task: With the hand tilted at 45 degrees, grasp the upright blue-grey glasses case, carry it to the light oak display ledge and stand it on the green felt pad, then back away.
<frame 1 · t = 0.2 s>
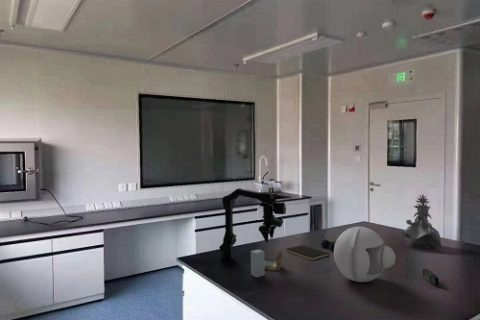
hand: (269, 240, 210), 14 cm above the lab bench, tool pointing down, fingers open, 9 cm apart
mobile phone: (431, 283, 181), on the lab bench
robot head: (363, 281, 183), on the lab bench
hardcover book: (306, 254, 231), on the lab bench
headset: (333, 249, 241), on the lab bench
display ledge: (270, 267, 205), on the lab bench
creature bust: (421, 246, 244), on the lab bench
glasses case: (257, 275, 193), on the lab bench
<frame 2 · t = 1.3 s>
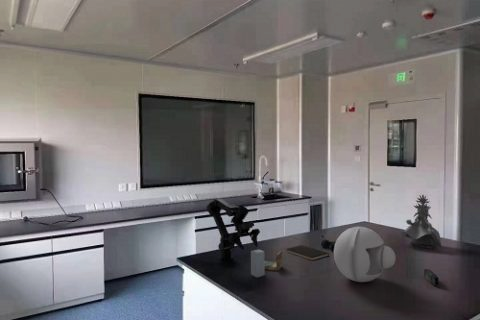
hand: (250, 247, 199), 13 cm above the lab bench, tool tilted 45°, fingers open, 9 cm apart
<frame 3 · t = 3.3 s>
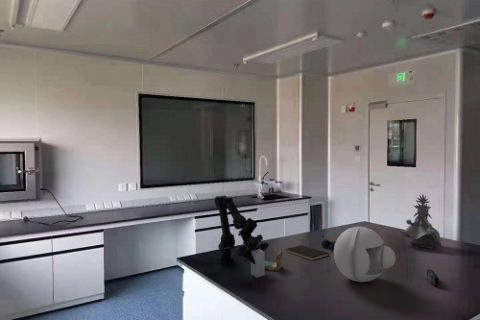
hand: (259, 262, 192), 7 cm above the lab bench, tool tilted 45°, fingers closed on glasses case, 5 cm apart
glasses case: (257, 275, 193), on the lab bench, touching gripper
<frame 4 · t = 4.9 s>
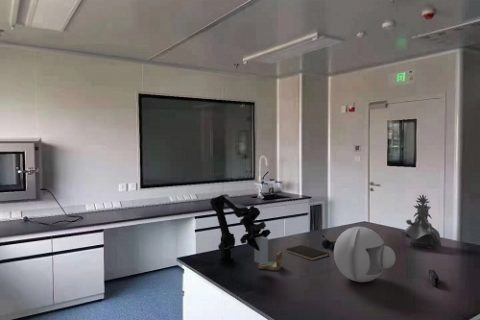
hand: (262, 249, 195), 13 cm above the lab bench, tool tilted 45°, fingers closed on glasses case, 5 cm apart
glasses case: (261, 261, 197), point 6 cm above the lab bench, touching gripper
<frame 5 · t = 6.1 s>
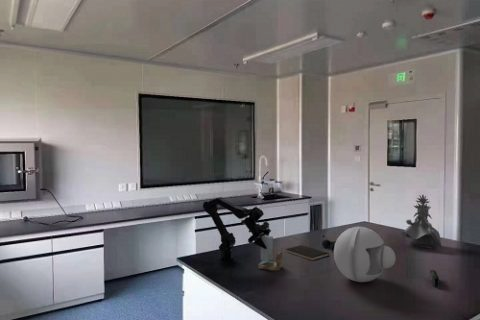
hand: (268, 247, 205), 12 cm above the lab bench, tool tilted 45°, fingers closed on glasses case, 5 cm apart
glasses case: (266, 259, 206), point 4 cm above the lab bench, touching gripper
when the fingers open (10 cm above the lab bench, at t = 6.8 s): glasses case stays where it is, resting on display ledge.
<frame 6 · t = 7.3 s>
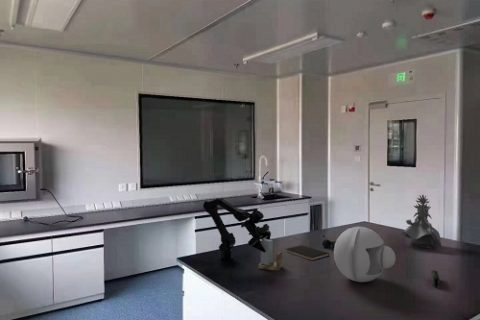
hand: (269, 250, 205), 10 cm above the lab bench, tool tilted 45°, fingers open, 9 cm apart
glasses case: (266, 262, 206), point 2 cm above the lab bench, touching display ledge
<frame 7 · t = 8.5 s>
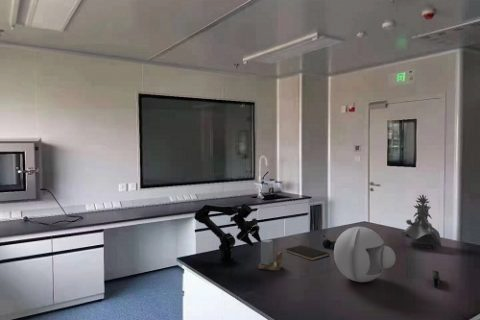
hand: (256, 243, 209), 12 cm above the lab bench, tool tilted 45°, fingers open, 9 cm apart
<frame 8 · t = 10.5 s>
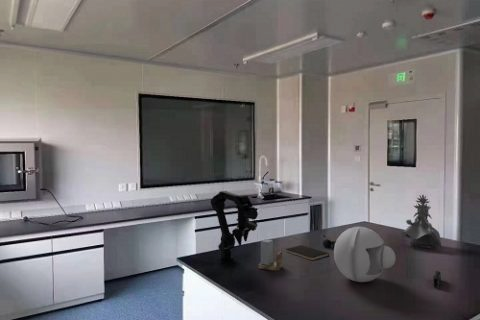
hand: (242, 243, 209), 13 cm above the lab bench, tool pointing down, fingers open, 9 cm apart
at the end: glasses case inside the target area on the display ledge (0.0 cm from its centre), point 2.3 cm above the display ledge's base; glasses case tilted 0°; the gripper is holding nothing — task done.
